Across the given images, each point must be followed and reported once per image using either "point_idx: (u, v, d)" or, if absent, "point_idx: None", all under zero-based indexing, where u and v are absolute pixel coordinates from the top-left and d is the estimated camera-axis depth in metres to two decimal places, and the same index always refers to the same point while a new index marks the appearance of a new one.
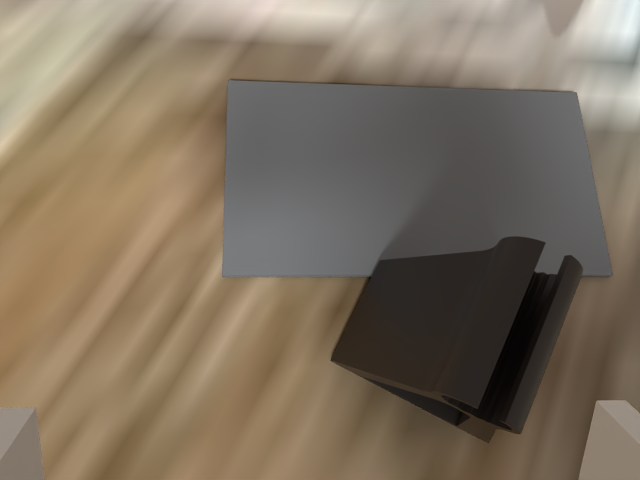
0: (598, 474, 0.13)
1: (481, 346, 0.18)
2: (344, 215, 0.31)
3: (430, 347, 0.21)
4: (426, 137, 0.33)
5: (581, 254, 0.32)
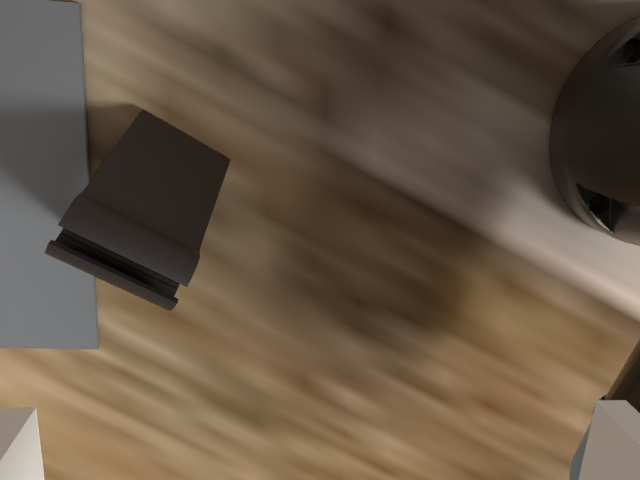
0: (598, 474, 0.13)
1: (134, 292, 0.25)
2: (36, 254, 0.36)
3: None
4: None
5: (57, 32, 0.32)
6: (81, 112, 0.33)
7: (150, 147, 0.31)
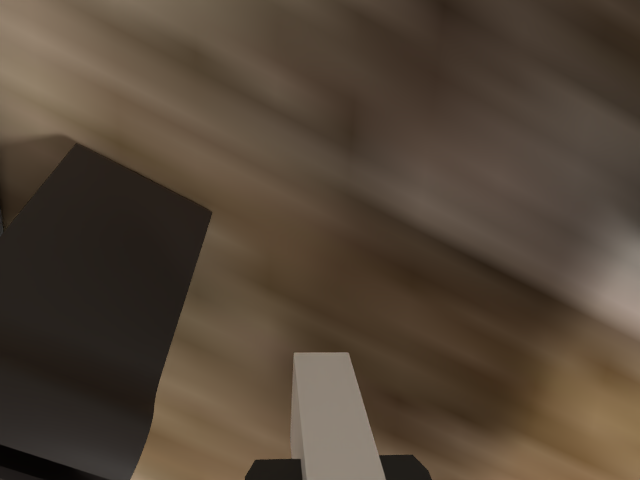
0: None
1: None
2: None
3: None
4: None
5: None
6: None
7: (83, 207, 0.20)
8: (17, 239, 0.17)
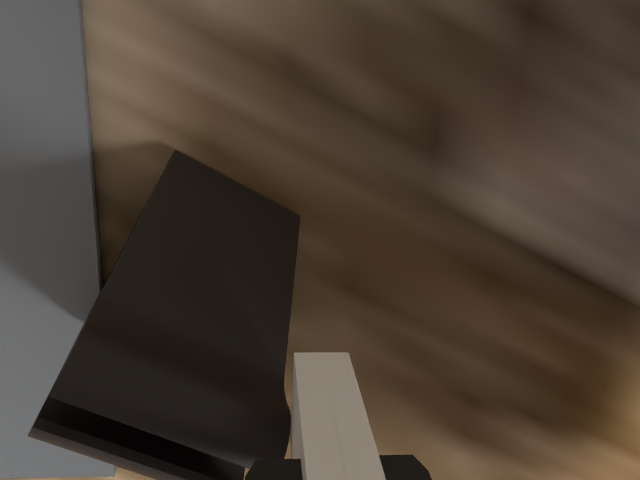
0: None
1: None
2: (25, 355, 0.25)
3: None
4: None
5: (47, 39, 0.21)
6: (85, 155, 0.23)
7: (192, 211, 0.20)
8: (143, 243, 0.18)
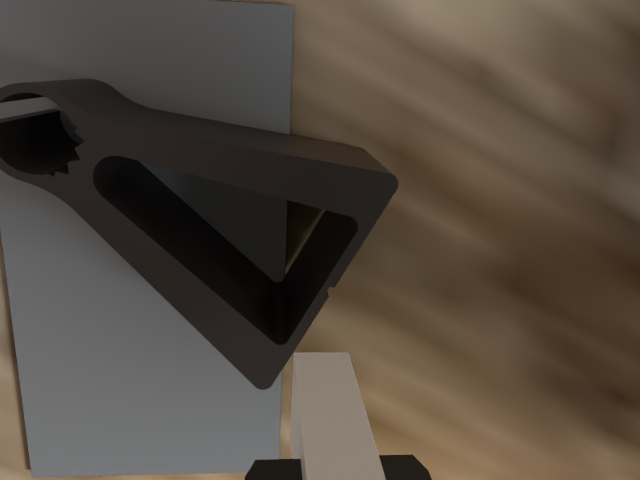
0: None
1: None
2: (207, 354, 0.26)
3: None
4: (88, 247, 0.24)
5: (261, 48, 0.22)
6: None
7: (287, 138, 0.22)
8: (219, 122, 0.22)
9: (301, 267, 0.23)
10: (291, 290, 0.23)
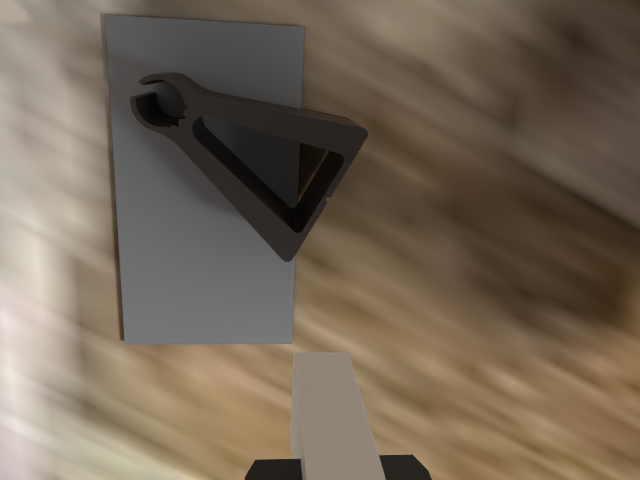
0: None
1: None
2: (245, 257, 0.39)
3: None
4: (170, 182, 0.36)
5: (284, 54, 0.35)
6: None
7: (300, 110, 0.34)
8: (257, 100, 0.35)
9: (309, 194, 0.36)
10: (302, 208, 0.35)
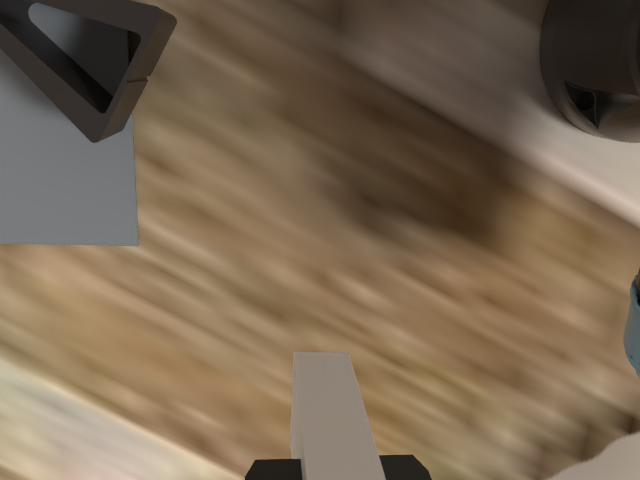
0: None
1: None
2: (83, 156, 0.40)
3: None
4: (1, 78, 0.38)
5: None
6: None
7: None
8: None
9: None
10: None
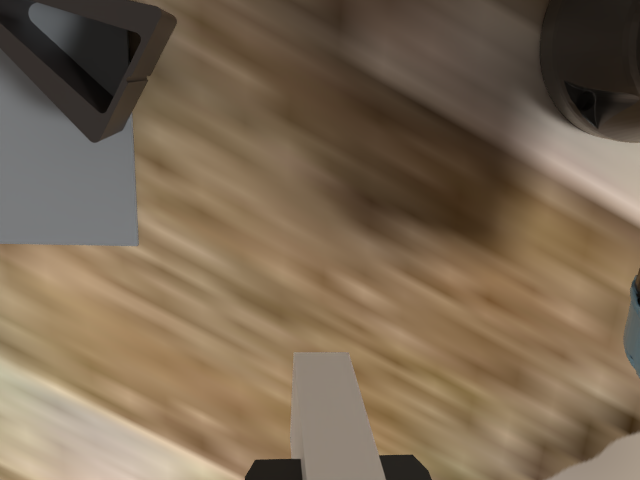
0: None
1: None
2: (83, 156, 0.40)
3: None
4: (1, 78, 0.38)
5: None
6: None
7: None
8: None
9: None
10: None
